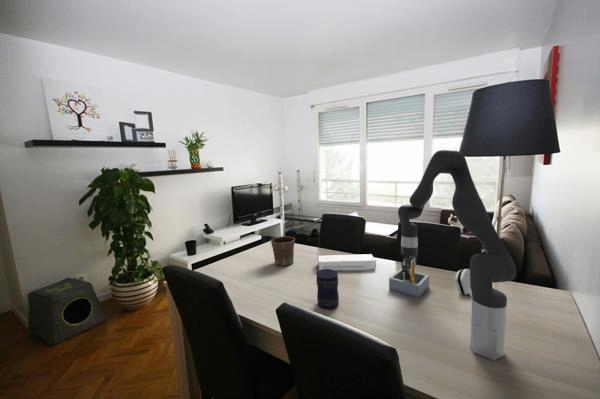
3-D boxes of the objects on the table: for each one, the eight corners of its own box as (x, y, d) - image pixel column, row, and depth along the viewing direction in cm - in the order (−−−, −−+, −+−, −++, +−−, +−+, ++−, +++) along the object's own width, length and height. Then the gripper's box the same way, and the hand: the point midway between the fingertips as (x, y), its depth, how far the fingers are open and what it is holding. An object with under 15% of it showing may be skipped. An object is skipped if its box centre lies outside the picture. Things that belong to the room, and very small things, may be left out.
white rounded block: (471, 297, 121) (463, 276, 123) (460, 297, 125) (452, 277, 126) (478, 284, 133) (471, 265, 135) (468, 284, 137) (461, 266, 138)
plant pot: (269, 260, 181) (268, 237, 179) (292, 257, 186) (291, 234, 184) (274, 269, 166) (273, 244, 164) (299, 265, 171) (298, 241, 168)
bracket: (411, 285, 130) (411, 265, 128) (403, 283, 132) (403, 263, 131) (415, 282, 133) (415, 262, 132) (407, 280, 136) (407, 260, 135)
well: (418, 298, 123) (419, 285, 122) (389, 289, 133) (389, 278, 132) (428, 286, 134) (429, 275, 133) (400, 279, 143) (400, 268, 143)
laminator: (318, 271, 160) (318, 261, 159) (318, 264, 172) (318, 254, 171) (375, 270, 158) (375, 260, 157) (371, 262, 170) (371, 253, 169)
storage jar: (314, 301, 125) (312, 271, 123) (332, 296, 128) (331, 267, 126) (323, 312, 116) (321, 279, 114) (343, 306, 119) (342, 275, 117)
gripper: (411, 250, 123) (411, 284, 125) (422, 242, 133) (421, 274, 135) (395, 247, 128) (395, 280, 130) (407, 240, 138) (407, 271, 140)
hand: (409, 277), depth 132 cm, fingers closed on bracket, 5 cm apart
